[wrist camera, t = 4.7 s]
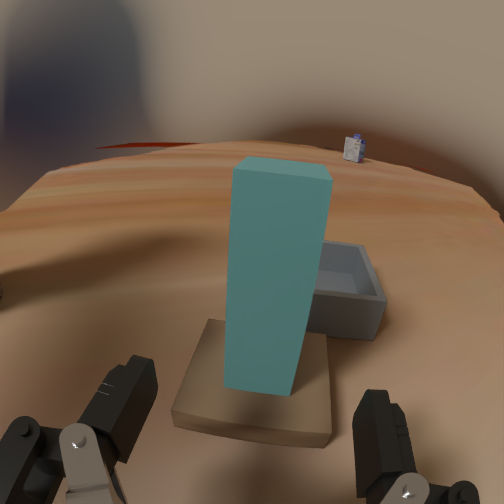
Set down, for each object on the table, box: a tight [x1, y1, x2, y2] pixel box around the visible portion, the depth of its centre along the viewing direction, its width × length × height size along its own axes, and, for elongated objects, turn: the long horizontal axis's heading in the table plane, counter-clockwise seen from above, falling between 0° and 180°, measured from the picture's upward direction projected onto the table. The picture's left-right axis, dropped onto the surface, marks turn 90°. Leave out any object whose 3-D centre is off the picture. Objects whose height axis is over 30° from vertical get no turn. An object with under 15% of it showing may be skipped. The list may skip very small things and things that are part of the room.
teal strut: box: [224, 156, 333, 396], centre depth 18 cm, size 4×4×14 cm
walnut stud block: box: [171, 319, 332, 448], centre depth 21 cm, size 10×10×6 cm
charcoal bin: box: [305, 240, 387, 340], centre depth 33 cm, size 13×13×4 cm
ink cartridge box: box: [343, 134, 366, 163], centre depth 149 cm, size 10×6×14 cm, turn 38°
